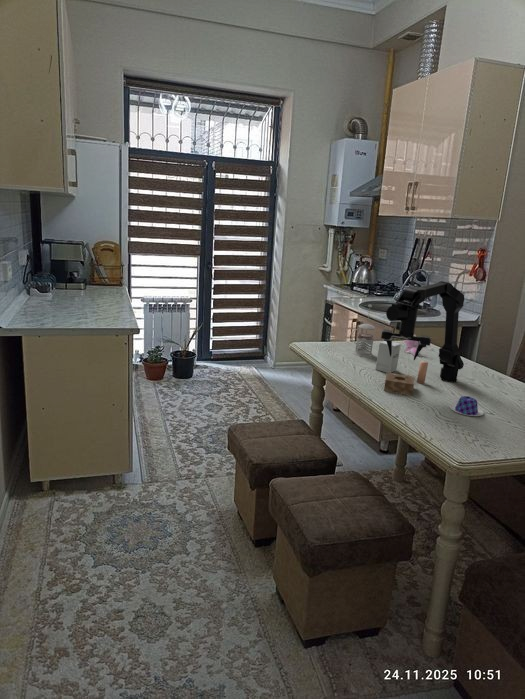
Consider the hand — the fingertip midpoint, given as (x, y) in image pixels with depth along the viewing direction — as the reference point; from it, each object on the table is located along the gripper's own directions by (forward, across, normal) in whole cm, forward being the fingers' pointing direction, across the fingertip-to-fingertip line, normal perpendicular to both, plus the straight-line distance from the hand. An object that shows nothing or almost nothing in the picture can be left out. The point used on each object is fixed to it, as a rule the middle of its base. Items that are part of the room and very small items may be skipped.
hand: (402, 358), depth 214 cm
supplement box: (+13, +6, -25) cm, 28 cm away
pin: (+13, -9, -14) cm, 21 cm away
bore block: (+13, 0, 0) cm, 13 cm away
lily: (+13, -6, -63) cm, 65 cm away
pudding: (+13, -26, +13) cm, 32 cm away
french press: (+13, +19, -46) cm, 52 cm away
